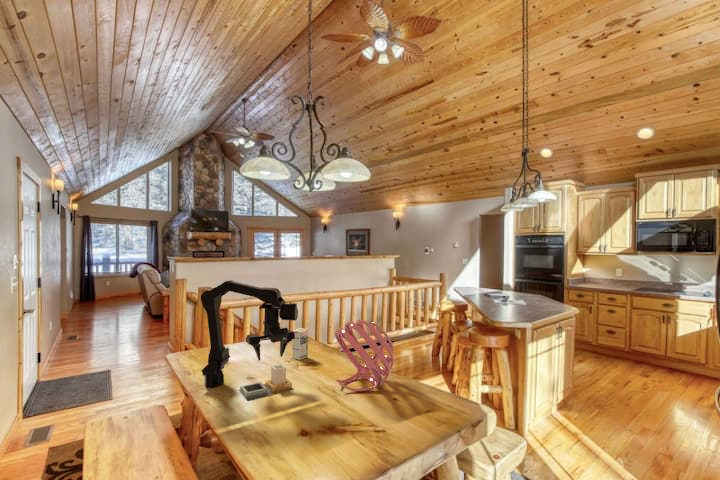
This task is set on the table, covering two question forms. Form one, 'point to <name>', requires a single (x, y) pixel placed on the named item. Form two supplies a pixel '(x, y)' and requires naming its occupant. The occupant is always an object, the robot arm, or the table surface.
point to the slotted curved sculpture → (370, 361)
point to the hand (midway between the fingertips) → (270, 358)
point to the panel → (264, 389)
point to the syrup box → (300, 344)
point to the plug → (278, 375)
